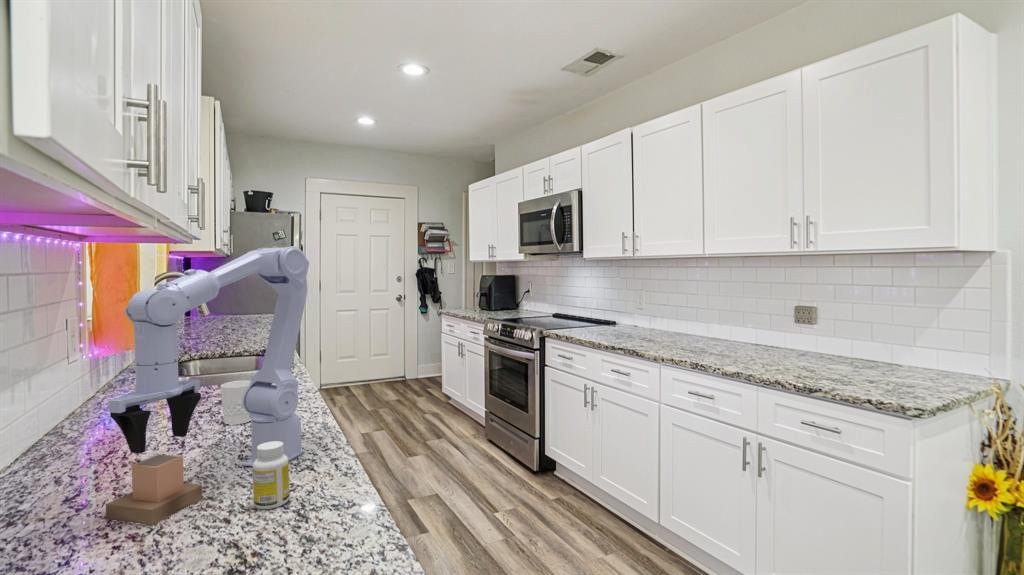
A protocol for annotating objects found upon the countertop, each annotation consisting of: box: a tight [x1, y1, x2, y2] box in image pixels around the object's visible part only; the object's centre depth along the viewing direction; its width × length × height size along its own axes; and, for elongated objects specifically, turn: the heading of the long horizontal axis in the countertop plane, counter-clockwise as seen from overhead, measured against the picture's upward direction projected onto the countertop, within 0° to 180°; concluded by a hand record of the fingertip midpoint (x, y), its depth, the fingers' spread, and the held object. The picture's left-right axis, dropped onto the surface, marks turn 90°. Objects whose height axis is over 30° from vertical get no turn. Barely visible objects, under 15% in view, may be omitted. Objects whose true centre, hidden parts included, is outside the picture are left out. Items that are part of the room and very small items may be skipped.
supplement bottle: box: [252, 441, 290, 510], centre depth 82 cm, size 5×5×10 cm
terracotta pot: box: [131, 454, 185, 502], centre depth 80 cm, size 5×5×6 cm
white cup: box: [220, 379, 251, 425], centre depth 127 cm, size 8×8×10 cm
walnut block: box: [105, 482, 203, 527], centre depth 80 cm, size 9×9×3 cm
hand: (159, 443), depth 81 cm, fingers open, 7 cm apart
